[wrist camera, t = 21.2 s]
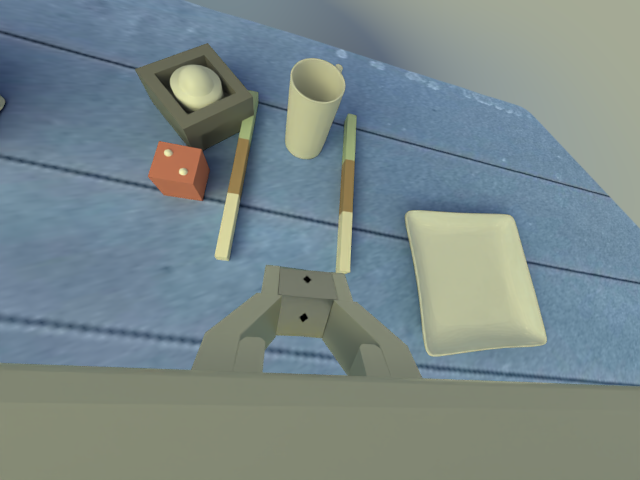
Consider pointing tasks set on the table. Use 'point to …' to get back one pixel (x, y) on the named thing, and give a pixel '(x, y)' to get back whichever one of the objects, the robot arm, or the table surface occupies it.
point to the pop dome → (195, 87)
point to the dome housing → (207, 121)
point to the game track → (238, 180)
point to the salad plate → (472, 283)
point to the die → (179, 171)
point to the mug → (312, 105)
